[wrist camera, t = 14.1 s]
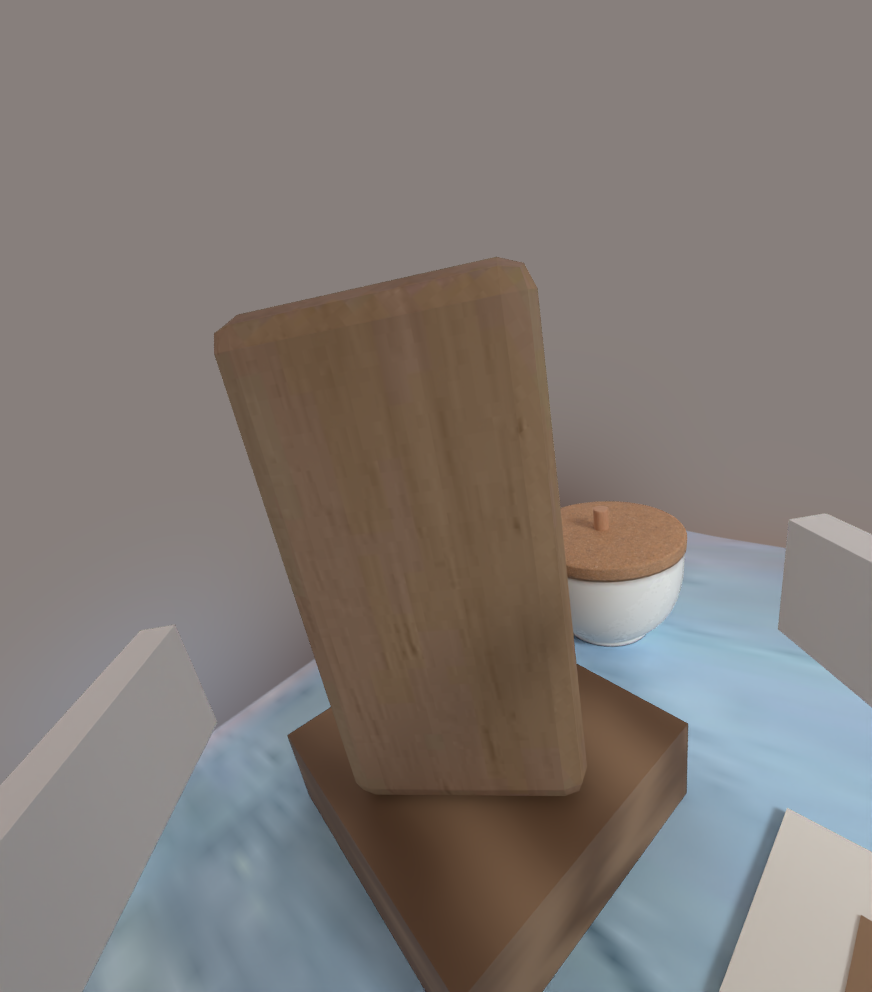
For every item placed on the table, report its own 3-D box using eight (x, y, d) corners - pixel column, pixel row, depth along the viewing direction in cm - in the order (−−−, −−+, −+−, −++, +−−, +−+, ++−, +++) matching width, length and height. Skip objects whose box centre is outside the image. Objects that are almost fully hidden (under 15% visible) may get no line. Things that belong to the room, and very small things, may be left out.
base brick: (488, 669, 34) (479, 611, 32) (686, 800, 23) (687, 723, 21) (311, 801, 26) (287, 735, 25) (480, 1088, 16) (457, 1004, 14)
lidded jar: (721, 632, 33) (727, 509, 29) (595, 692, 30) (586, 563, 26) (614, 569, 42) (609, 471, 39) (510, 610, 39) (496, 507, 36)
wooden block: (353, 805, 20) (188, 321, 14) (402, 652, 29) (317, 318, 23) (593, 808, 18) (534, 243, 12) (565, 643, 27) (523, 274, 21)
